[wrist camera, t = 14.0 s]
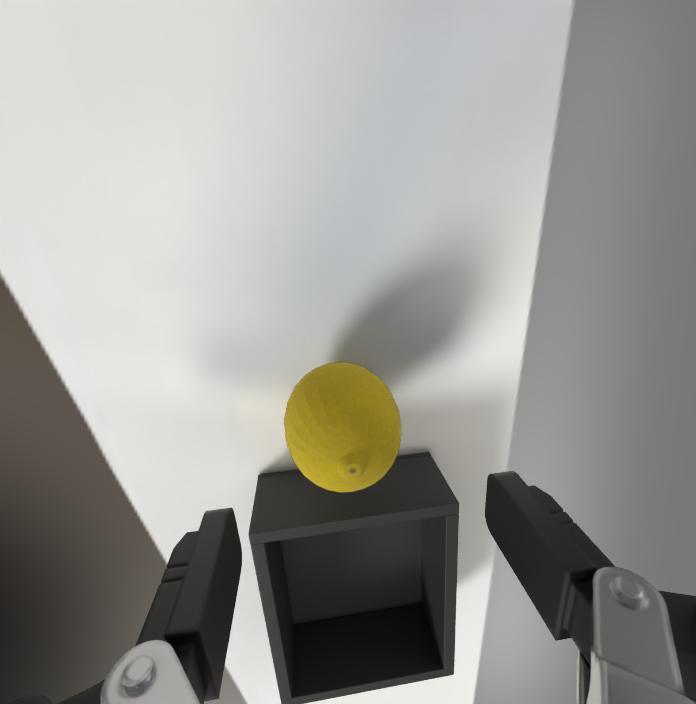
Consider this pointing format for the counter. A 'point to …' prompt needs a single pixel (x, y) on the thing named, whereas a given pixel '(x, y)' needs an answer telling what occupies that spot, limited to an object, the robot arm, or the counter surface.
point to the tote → (357, 580)
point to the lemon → (342, 427)
